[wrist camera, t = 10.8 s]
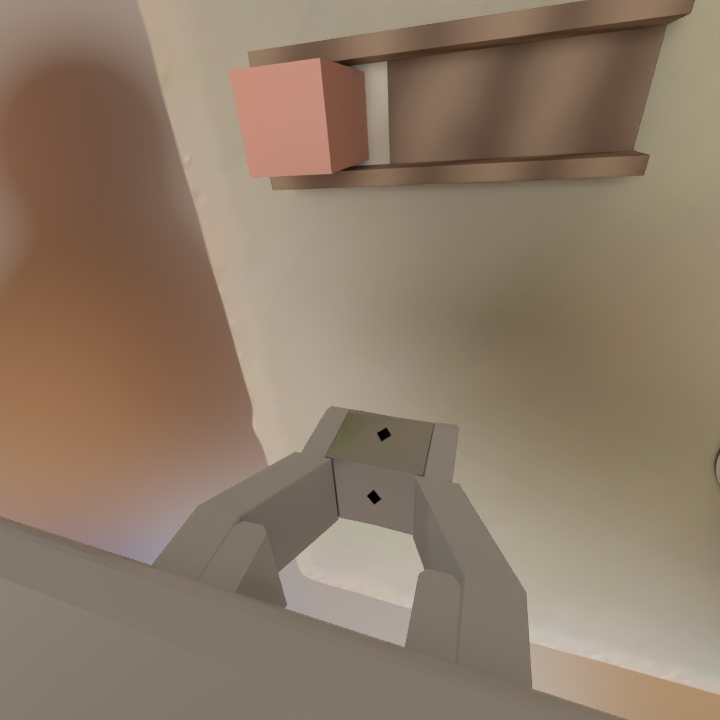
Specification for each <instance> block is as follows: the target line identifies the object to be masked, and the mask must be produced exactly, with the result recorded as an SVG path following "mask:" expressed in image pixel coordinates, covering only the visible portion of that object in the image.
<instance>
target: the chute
mask: <svg viewBox="0 0 720 720" xmlns="http://www.w3.org/2000/svg"><path fill="white" fill-rule="evenodd" d="M694 1H695V0H586V1H579V2H572V3H566V4H559V5H553V6H546V7H540V8H533V9H527V10H520V11H513V12H507V13H500V14H494V15H487V16H481V17H474V18H468V19H461V20H454V21H448V22H441V23H435V24H428V25H422V26H415V27H408V28H402V29H395V30H389V31H382V32H376V33H369V34H363V35H356V36H349V37H343V38H336V39H330V40H323V41H317V42H310V43H304V44H297V45H290V46H284V47H277V48H271V49H264V50H258V51H251V52H248V57H249V63H250V67H257V66H264V65H272V64H279V63H286V62H293V61H300V60H307V59H315V58H322V59H325V60H328V61H332V62H335V63H338V64H341V65H344V66H348V67H351V68H354V69H357V70H360V71H363V72H364V75H365V94H366V112H367V130H368V149H369V159H368V160H365V161H363V162H360V163H358V164H355V165H353V166H350V167H348V168H345V169H343V170H340V171H338V172H335V173H332V174H318V175H298V176H278V177H270V179H271V184H272V190H290V189H315V188H340V187H365V186H390V185H416V184H441V183H466V182H491V181H516V180H541V179H566V178H592V177H617V176H642V175H644V173H645V170H646V166H647V163H648V159H649V156H650V155H648V154H644V153H640V152H637V151H633V148H634V145H635V141H636V137H637V134H638V130H639V126H640V122H641V119H642V115H643V111H644V107H645V104H646V100H647V96H648V93H649V89H650V85H651V81H652V78H653V74H654V70H655V67H656V63H657V59H658V55H659V52H660V48H661V44H662V40H663V37H664V33H665V29H666V26H667V24H669V23H671V22H673V21H675V20H677V19H679V18H682V17H684V16H686V15H688V14H690V13H691V12H692V8H693V5H694Z"/></svg>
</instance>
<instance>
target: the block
mask: <svg viewBox="0 0 720 720" xmlns="http://www.w3.org/2000/svg"><path fill="white" fill-rule="evenodd" d="M229 74H230V78H231V83H232V88H233V93H234V98H235V103H236V108H237V113H238V117H239V122H240V127H241V132H242V137H243V142H244V147H245V152H246V156H247V161H248V166H249V171H250V176H251V178H258V177H278V176H298V175H318V174H332V173H335V172H338V171H340V170H343V169H345V168H348V167H350V166H353V165H355V164H358V163H360V162H363V161H365V160H368V159H369V149H368V130H367V112H366V94H365V75H364V72H363V71H360V70H357V69H354V68H351V67H348V66H344V65H341V64H338V63H335V62H332V61H328V60H325V59H322V58H315V59H307V60H300V61H293V62H286V63H279V64H272V65H264V66H257V67H250V68H243V69H236V70H229Z"/></svg>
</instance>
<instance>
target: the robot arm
mask: <svg viewBox="0 0 720 720" xmlns="http://www.w3.org/2000/svg"><path fill="white" fill-rule="evenodd" d="M458 430H459V428H458V426H456V425H449V424H442V423H431V422H425V421H418V420H411V419H405V418H398V417H392V416H386V415H381V414H375V413H370V412H364V411H358V410H353V409H351V410H350V409H345V408H340V407H334V406H331V407H330V408H328V409H327V410H326V412H325V414H324V415H323V417H322V419H321V420H320V422H319V424H318V425H317V427H316V429H315V431H314V432H313V434H312V436H311V437H310V439H309V441H308V442H307V444H306V446H305V447H304V449H303V451H302V452H301V453H299V452H294V453H292V454H291V455H289V456H287V457H285V458H283V459H282V460H280V461H278V462H276V463H274V464H273V465H271V466H269V467H267V468H265V469H264V470H262V471H260V472H258V473H256V474H255V475H253V476H251V477H249V478H248V479H246V480H244V481H242V482H240V483H238V484H237V485H235V486H233V487H231V488H229V489H228V490H226V491H224V492H222V493H220V494H219V495H217V496H215V497H213V498H212V499H210V500H208V501H206V502H204V503H203V504H201V505H199V506H198V507H197V508H196V509H195V510H194V512H193V513H192V514H191V516H190V517H189V518H188V519H187V521H186V522H185V523H184V524H183V526H182V527H181V529H180V530H179V531H178V532H177V533H176V535H175V536H174V538H172V540H171V541H170V542H169V544H168V545H167V546H166V547H165V549H164V550H163V551H162V553H161V554H160V555H159V556H158V558H157V559H156V560H155V562H154V563H153V564H152V565H149V564H146V563H143V562H140V561H136V560H133V559H130V558H127V557H124V556H121V555H118V554H114V553H112V552H108V551H105V550H102V549H99V548H96V547H93V546H90V545H86V544H83V543H81V542H78V541H75V540H71V539H68V538H65V537H62V536H59V535H56V534H53V533H50V532H47V531H44V530H41V529H37V528H34V527H31V526H28V525H25V524H22V523H19V522H16V521H13V520H10V519H7V518H4V517H1V516H0V720H628V719H625V718H622V717H618V716H615V715H612V714H609V713H606V712H603V711H600V710H597V709H594V708H591V707H587V706H584V705H581V704H578V703H575V702H572V701H569V700H566V699H563V698H560V697H556V696H554V695H551V694H547V693H544V692H541V691H538V690H535V689H532V678H531V677H532V676H531V662H530V661H531V660H530V644H529V628H528V612H527V595H526V591H525V590H524V588H523V587H522V585H521V583H520V582H519V580H518V578H517V577H516V575H515V574H514V572H513V570H512V569H511V567H510V566H509V564H508V562H507V561H506V559H505V557H504V556H503V554H502V553H501V551H500V549H499V548H498V546H497V544H496V543H495V541H494V540H493V538H492V536H491V535H490V533H489V532H488V530H487V528H486V527H485V525H484V523H483V522H482V520H481V519H480V517H479V515H478V514H477V512H476V511H475V509H474V507H473V506H472V504H471V502H470V501H469V499H468V498H467V496H466V494H465V493H464V491H463V489H462V488H461V486H460V485H459V484H456V483H452V482H453V474H454V465H455V456H456V448H457V439H458ZM716 476H717V480H718V482H719V484H720V454H719V457H718V459H717V463H716ZM338 517H340V518H345V519H349V520H354V521H359V522H364V523H368V524H373V525H377V526H381V527H385V528H388V529H392V530H396V531H400V532H403V533H407V534H411V535H413V539H414V541H415V544H416V547H417V550H418V553H419V555H420V558H421V561H422V564H423V567H424V569H425V571H423V572H422V573H420V574H419V576H418V581H417V586H416V592H415V597H414V602H413V607H412V613H411V618H410V623H409V629H408V634H407V639H406V644H405V647H402V646H399V645H396V644H393V643H390V642H387V641H384V640H380V639H377V638H375V637H371V636H368V635H365V634H362V633H359V632H356V631H353V630H350V629H347V628H343V627H340V626H337V625H334V624H331V623H328V622H325V621H322V620H319V619H316V618H313V617H309V616H306V615H304V614H300V613H297V612H294V611H291V610H288V609H285V607H286V605H287V603H286V600H285V596H284V593H283V589H282V585H281V582H280V578H279V574H278V572H279V571H280V570H282V569H283V568H284V567H285V566H286V565H287V564H288V563H290V562H291V561H292V560H293V559H294V558H295V557H296V556H298V555H299V554H300V553H301V552H302V551H303V550H304V549H305V548H307V547H308V546H309V545H310V544H311V543H312V542H313V541H315V540H316V539H317V538H318V537H319V536H320V535H321V534H323V533H324V532H325V531H326V530H327V529H328V528H329V527H330V526H332V525H333V524H334V523H335V522H336V521H337V520H338Z"/></svg>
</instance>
